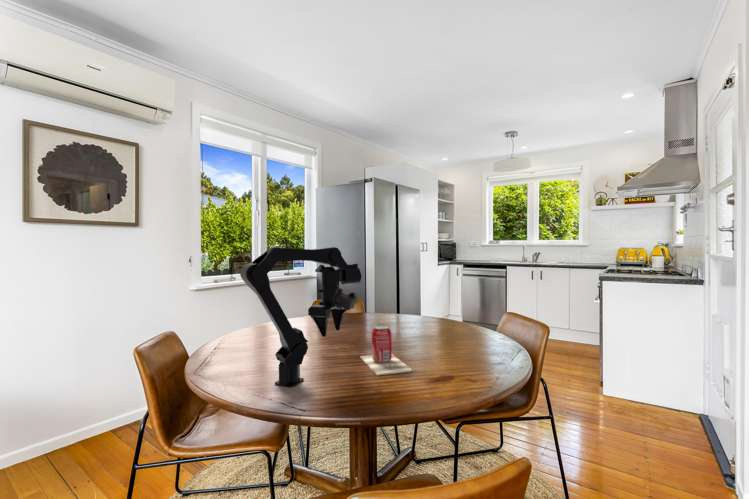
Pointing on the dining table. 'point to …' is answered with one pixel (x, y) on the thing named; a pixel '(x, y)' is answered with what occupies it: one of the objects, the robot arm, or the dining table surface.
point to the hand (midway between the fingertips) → (331, 333)
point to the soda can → (381, 344)
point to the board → (386, 366)
